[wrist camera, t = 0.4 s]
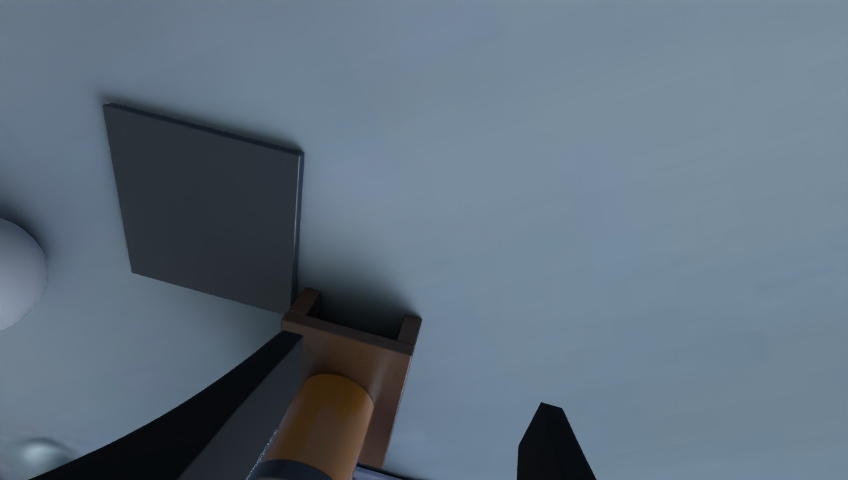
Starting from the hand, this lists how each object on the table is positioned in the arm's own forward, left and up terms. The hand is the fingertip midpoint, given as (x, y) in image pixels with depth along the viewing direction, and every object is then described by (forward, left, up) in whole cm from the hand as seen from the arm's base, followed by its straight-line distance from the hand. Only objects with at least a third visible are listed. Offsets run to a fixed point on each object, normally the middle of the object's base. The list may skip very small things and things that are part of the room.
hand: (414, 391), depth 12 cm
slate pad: (-2, +13, -10) cm, 16 cm away
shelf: (-10, +4, -10) cm, 15 cm away
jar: (-10, +4, -7) cm, 13 cm away
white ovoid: (-8, +27, -10) cm, 30 cm away
